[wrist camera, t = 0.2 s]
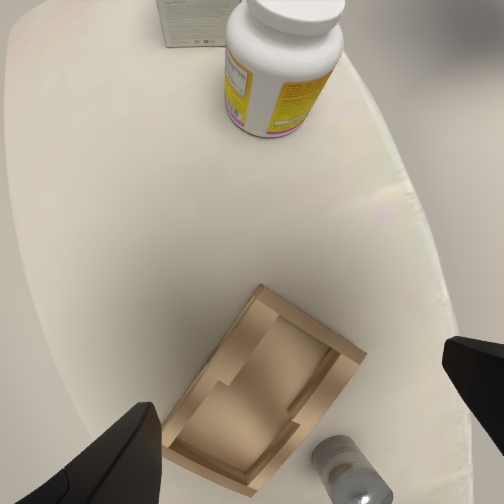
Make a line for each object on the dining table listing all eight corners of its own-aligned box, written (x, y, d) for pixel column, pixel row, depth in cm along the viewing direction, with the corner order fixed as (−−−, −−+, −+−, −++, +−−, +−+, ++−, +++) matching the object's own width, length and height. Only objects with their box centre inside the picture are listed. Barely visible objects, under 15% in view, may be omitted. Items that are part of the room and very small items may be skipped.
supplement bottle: (317, 89, 24) (376, -14, 12) (290, 153, 24) (349, 61, 11) (243, 59, 24) (259, -57, 11) (210, 120, 24) (202, 7, 11)
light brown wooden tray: (248, 480, 23) (250, 497, 20) (155, 434, 22) (150, 449, 20) (354, 345, 24) (367, 353, 22) (260, 283, 24) (264, 286, 21)
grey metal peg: (336, 475, 24) (367, 528, 16) (303, 462, 23) (328, 520, 15) (363, 443, 24) (403, 492, 16) (331, 429, 24) (367, 481, 16)
